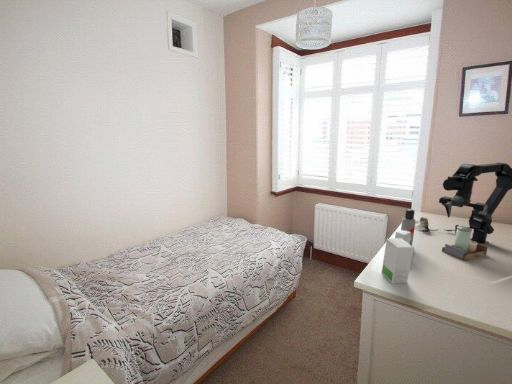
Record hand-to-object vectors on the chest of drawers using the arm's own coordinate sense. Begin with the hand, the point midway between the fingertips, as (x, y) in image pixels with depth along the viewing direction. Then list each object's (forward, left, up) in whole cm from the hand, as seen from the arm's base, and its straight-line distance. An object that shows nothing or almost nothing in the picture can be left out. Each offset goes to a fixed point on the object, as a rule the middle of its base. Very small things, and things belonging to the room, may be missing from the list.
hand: (459, 219), depth 138 cm
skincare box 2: (+56, +13, -13) cm, 59 cm away
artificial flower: (-6, -15, -14) cm, 21 cm away
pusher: (+16, +10, -12) cm, 22 cm away
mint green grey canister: (+11, +10, -12) cm, 19 cm away
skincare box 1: (+38, 0, -13) cm, 40 cm away
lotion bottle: (+28, -6, -13) cm, 31 cm away
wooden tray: (+8, +10, -13) cm, 18 cm away
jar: (+5, +10, -12) cm, 16 cm away
